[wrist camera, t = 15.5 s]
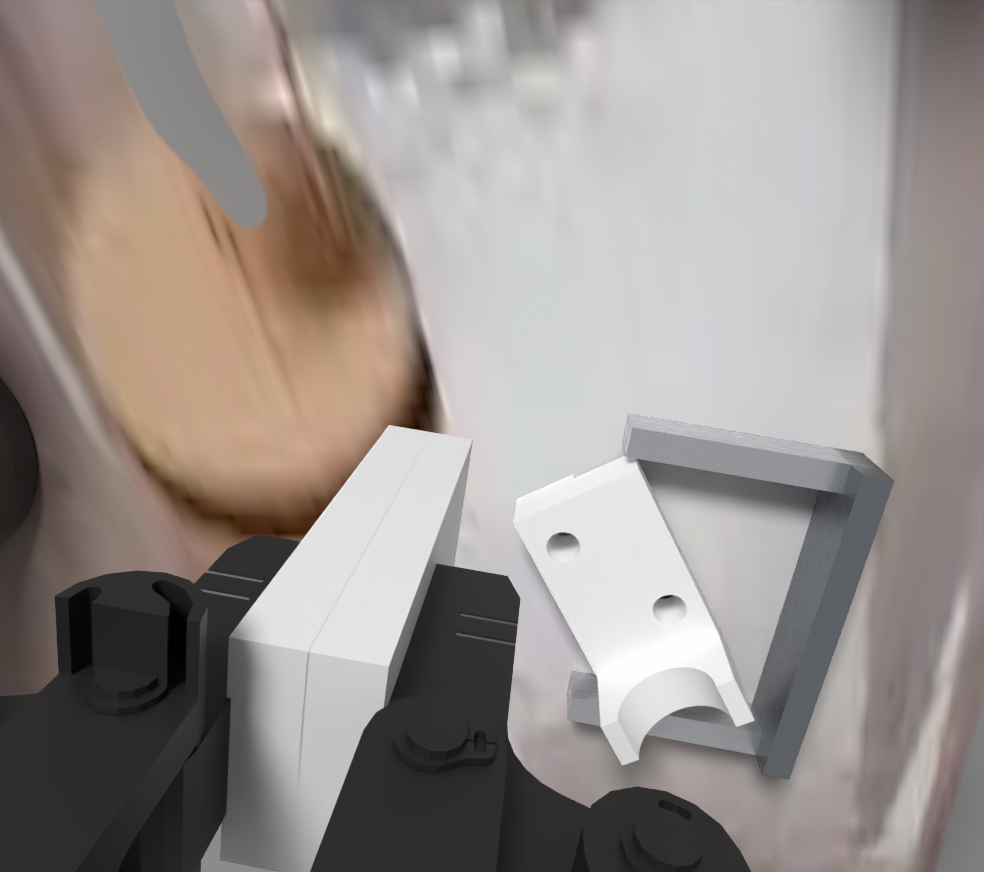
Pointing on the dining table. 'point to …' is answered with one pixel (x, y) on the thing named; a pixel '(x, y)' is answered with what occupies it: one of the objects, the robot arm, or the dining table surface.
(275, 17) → the dining table surface
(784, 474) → the u-shaped rail frame
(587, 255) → the dining table surface
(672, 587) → the bracket
